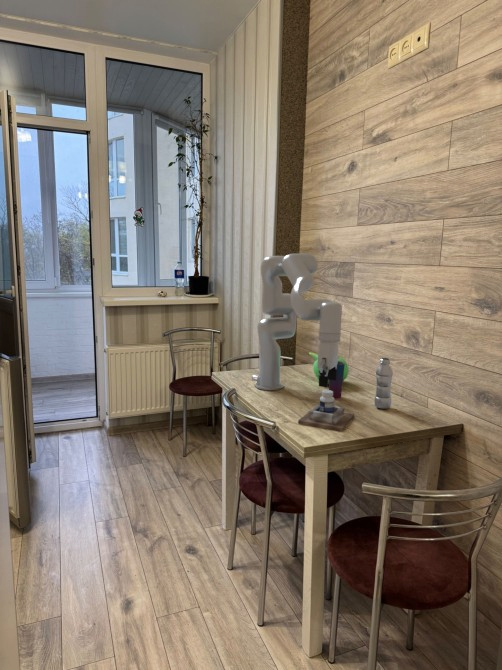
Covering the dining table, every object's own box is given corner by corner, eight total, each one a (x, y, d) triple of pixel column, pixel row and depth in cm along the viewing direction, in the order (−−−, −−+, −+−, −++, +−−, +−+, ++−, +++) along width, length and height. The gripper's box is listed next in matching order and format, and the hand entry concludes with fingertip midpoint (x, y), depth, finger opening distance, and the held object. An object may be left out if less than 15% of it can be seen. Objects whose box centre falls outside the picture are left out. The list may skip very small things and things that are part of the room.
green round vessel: (354, 387, 216) (355, 356, 213) (319, 389, 212) (320, 357, 209) (337, 377, 233) (338, 348, 230) (305, 379, 229) (306, 349, 226)
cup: (343, 399, 198) (344, 364, 195) (326, 398, 199) (328, 364, 196) (343, 395, 204) (344, 361, 202) (327, 394, 206) (328, 360, 203)
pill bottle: (317, 414, 176) (318, 389, 174) (331, 414, 176) (332, 389, 175) (321, 419, 171) (321, 393, 169) (335, 419, 171) (336, 393, 169)
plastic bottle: (382, 411, 183) (385, 361, 180) (370, 406, 189) (372, 357, 186) (394, 409, 186) (397, 359, 183) (382, 404, 192) (385, 356, 189)
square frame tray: (298, 423, 170) (298, 412, 169) (313, 410, 184) (313, 400, 183) (341, 431, 163) (341, 419, 162) (354, 417, 177) (354, 406, 176)
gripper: (327, 332, 177) (325, 376, 181) (311, 339, 162) (309, 387, 166) (346, 334, 174) (344, 378, 177) (332, 342, 159) (329, 391, 162)
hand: (327, 383), depth 171 cm, fingers open, 9 cm apart
